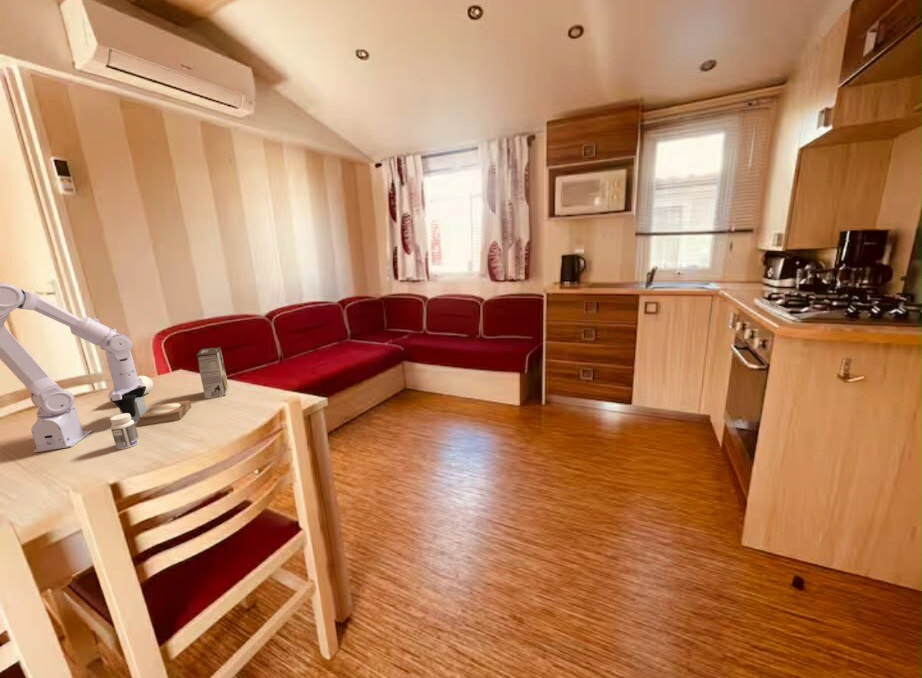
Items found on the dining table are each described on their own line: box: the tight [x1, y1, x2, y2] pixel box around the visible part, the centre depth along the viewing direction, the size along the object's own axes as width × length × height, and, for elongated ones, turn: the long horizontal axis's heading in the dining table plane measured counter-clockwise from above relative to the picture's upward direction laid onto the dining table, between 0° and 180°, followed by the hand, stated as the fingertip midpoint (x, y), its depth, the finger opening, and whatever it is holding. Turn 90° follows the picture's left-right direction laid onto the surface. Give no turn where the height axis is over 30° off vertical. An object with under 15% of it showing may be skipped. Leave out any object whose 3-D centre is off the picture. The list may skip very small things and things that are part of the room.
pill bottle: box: [110, 413, 140, 450], centre depth 99 cm, size 5×5×8 cm
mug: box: [108, 375, 154, 406], centre depth 131 cm, size 10×7×12 cm
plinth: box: [138, 399, 192, 426], centre depth 117 cm, size 10×10×3 cm
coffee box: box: [196, 346, 229, 400], centre depth 133 cm, size 9×6×16 cm
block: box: [118, 396, 148, 422], centre depth 116 cm, size 4×4×6 cm
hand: (134, 413), depth 116 cm, fingers closed on block, 4 cm apart
